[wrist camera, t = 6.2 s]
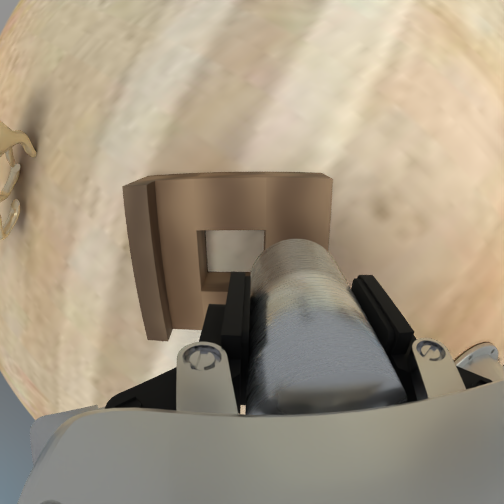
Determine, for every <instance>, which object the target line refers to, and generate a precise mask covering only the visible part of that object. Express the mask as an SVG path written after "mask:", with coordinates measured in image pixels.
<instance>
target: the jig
mask: <svg viewBox="0 0 504 504" xmlns="http://www.w3.org/2000/svg"><path fill="white" fill-rule="evenodd" d="M332 183H333V179H332V178H330V177H328V176H326V175H324V174H323V173H305V172H214V173H188V174H169V175H154V176H147V177H144V178H142V179H139V180H137V181H135V182H132V183H130V184H127V185H125V186H123V198H124V207H125V216H126V224H127V232H128V239H129V246H130V253H131V259H132V265H133V271H134V277H135V282H136V288H137V293H138V298H139V303H140V308H141V312H142V317H143V321H144V326H145V330H146V334H147V339H148V340H157V341H168V340H169V337H170V335H171V332H172V329H191V330H202V328H203V324H204V320H205V316H206V312H207V308H208V305H209V304H226V300H227V294H228V287H229V281H230V275H231V272H208V271H207V257H206V241H205V230H264V251H265V250H266V249H267V248H269V247H270V246H272V245H273V244H275V243H278V242H280V241H284V240H288V239H305V240H309V241H312V242H315V243H317V244H319V245H320V246H322V247H323V248H324V249H326V250H327V251H328V244H329V232H330V218H331V202H332ZM250 275H251V272H245V276H250Z"/></svg>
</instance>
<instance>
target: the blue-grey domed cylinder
mask: <svg viewBox="0 0 504 504" xmlns="http://www.w3.org/2000/svg"><path fill="white" fill-rule="evenodd" d="M250 276H251V289H250V325H249V356H248V370H247V384H246V415H294V414H315V413H330V412H342V411H352V410H361V409H369V408H377V407H384V406H390V405H397V404H402V403H407V395H406V393H405V390H404V388H403V386H402V384H401V382H400V380H399V378H398V376H397V374H396V372H395V370H394V368H393V366H392V364H391V362H390V360H389V358H388V356H387V354H386V352H385V350H384V349H383V347H382V345H381V343H380V341H379V339H378V337H377V335H376V333H375V332H374V330H373V328H372V326H371V324H370V322H369V321H368V319H367V317H366V315H365V313H364V312H363V310H362V308H361V306H360V304H359V303H358V301H357V299H356V297H355V296H354V294H353V292H352V290H351V289H350V287H349V285H348V283H347V282H346V280H345V278H344V277H343V275H342V273H341V271H340V270H339V268H338V266H337V265H336V263H335V261H334V260H333V258H332V256H331V255H330V254H329V252H328V251H327V250H326V249H324V248H323V247H322V246H320V245H319V244H317V243H315V242H312V241H309V240H305V239H288V240H284V241H280V242H278V243H275V244H273V245H272V246H270V247H269V248H267V249H266V250H265V251H264V252H263V253H262V254H260V256H259V257H258V258H257V260H256V261H255V263H254V265H253V268H252V270H251V275H250Z"/></svg>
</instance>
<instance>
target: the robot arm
mask: <svg viewBox="0 0 504 504" xmlns="http://www.w3.org/2000/svg"><path fill="white" fill-rule="evenodd" d="M250 289H251V276H245V272H231V275H230V281H229V287H228V294H227V300H226V304H209V305H208V308H207V312H206V316H205V320H204V324H203V328H202V332H201V336H200V340H199V342H195V343H192V344H189V345H186V346H185V347H183V348H182V349H181V350H180V351H179V353H178V356H177V367H176V368H174V369H172V370H170V371H167V372H165V373H163V374H161V375H159V376H157V377H155V378H152V379H150V380H148V381H146V382H144V383H142V384H139V385H137V386H135V387H133V388H130V389H128V390H126V391H124V392H121V393H119V394H117V395H115V396H114V397H112V398H111V399H110V400H109V401H108V402H107V405H106V407H102V408H98V406H97V405H94V406H90V407H85V408H81V409H76V410H71V411H66V412H61V413H56V414H51V415H45V416H42V417H40V418H38V419H37V420H36V421H34V423H33V424H32V426H31V429H30V440H31V450H32V458H33V465H34V466H33V469H32V471H31V473H30V475H29V477H28V479H27V481H26V483H25V485H24V488H23V490H22V493H21V495H20V498H19V501H18V503H17V504H504V365H503V366H502V365H501V364H500V363H499V362H498V350H497V348H496V347H495V346H494V345H493V344H491V343H482V344H479V345H477V346H474V347H473V348H471V349H469V350H468V351H466V352H465V353H464V354H462V355H461V356H460V357H459V358H458V359H457V360H456V361H455V362H454V361H453V359H452V357H451V355H450V352H449V350H448V349H447V348H446V346H445V345H443V344H442V343H441V342H439V341H437V340H434V339H431V338H420V339H416V338H415V336H414V335H413V334H414V331H413V329H412V328H411V326H410V325H409V324H408V322H407V321H406V319H405V318H404V317H403V315H402V314H401V312H400V311H399V310H398V308H397V307H396V306H395V304H394V303H393V301H392V300H391V299H390V297H389V296H388V295H387V293H386V292H385V291H384V289H383V288H382V287H381V285H380V284H379V283H378V281H377V280H376V279H375V277H374V276H373V275H359V276H358V278H357V279H354V280H353V283H352V288H351V290H352V292H353V294H354V296H355V297H356V299H357V301H358V303H359V304H360V306H361V308H362V310H363V312H364V313H365V315H366V317H367V319H368V321H369V322H370V324H371V326H372V328H373V330H374V332H375V333H376V335H377V337H378V339H379V341H380V343H381V345H382V347H383V349H384V350H385V352H386V354H387V356H388V358H389V360H390V362H391V364H392V366H393V368H394V370H395V372H396V374H397V376H398V378H399V380H400V382H401V384H402V386H403V388H404V390H405V393H406V395H407V403H402V404H397V405H390V406H384V407H377V408H369V409H361V410H352V411H342V412H330V413H315V414H294V415H241V414H240V405H246V384H247V370H248V356H249V325H250Z"/></svg>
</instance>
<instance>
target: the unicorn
mask: <svg viewBox="0 0 504 504" xmlns="http://www.w3.org/2000/svg"><path fill="white" fill-rule="evenodd" d="M19 143H20V144H21V145H22V147H23V148H24V150H25V152H26V153H27V154H28V155H29V156H30V157H33V158H35V157H36V150H35V149H34V148H33V145H32V143H31V141H30V139H29V137H28V136H27V135H26V133H24V132H23V131H21V130H15V131H12V130H11V129H10V128H9V127H7V126H6V125H5V124H4V123H3V122H1V121H0V157H1V156H2V155H3V154H4V153H5V155H6V158H7V161H8V163H9V165H10V166H11V167H12V168H11V172H10V176H9V178H8V180H7V182H6V184H5V186H4V188H3V189H2V191H1V192H0V202H2V201H3V200H5V199H6V198H7V197H8V196H9V195H10V193H11V191H12V189H13V187H14V185H15V184H16V182H17V180H18V178H19V173H20V167H21V166H20V164H16V165H15V160H14V156H13V150H12V147H13V146H14V145H16V144H19ZM19 214H20V203H19V201H18V200H17V199H15V200H14V201H13V202H12V204H11V212H10V214H9V217H8V219H7V221H6V223H5V224H4V226H3V227H2V220H1V215H0V240H4V239H5V238H6V237H7V236H8V235H9V233H10V231H11V229H12V228H13V226H14V225H15V223H16V221H17V219H18V217H19Z"/></svg>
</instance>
